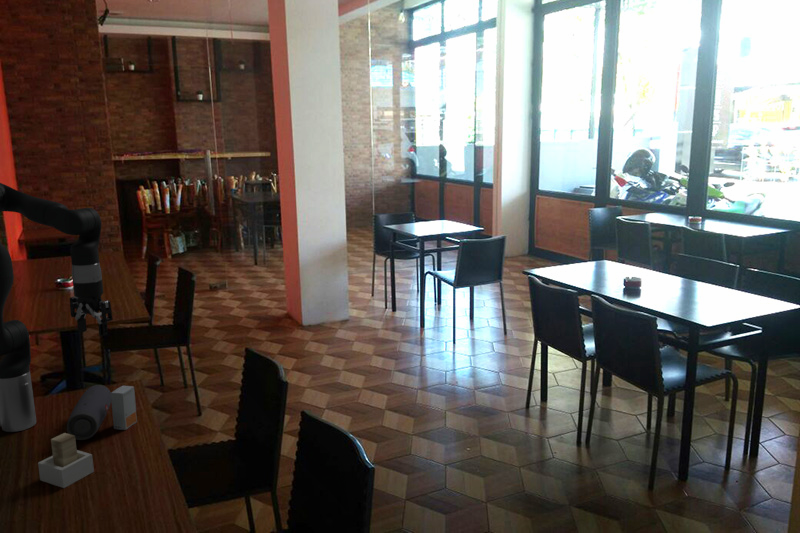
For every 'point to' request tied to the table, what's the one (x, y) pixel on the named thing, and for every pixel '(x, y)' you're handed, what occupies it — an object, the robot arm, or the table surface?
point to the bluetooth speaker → (89, 412)
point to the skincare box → (123, 407)
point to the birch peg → (64, 449)
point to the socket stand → (66, 470)
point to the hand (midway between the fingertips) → (93, 333)
